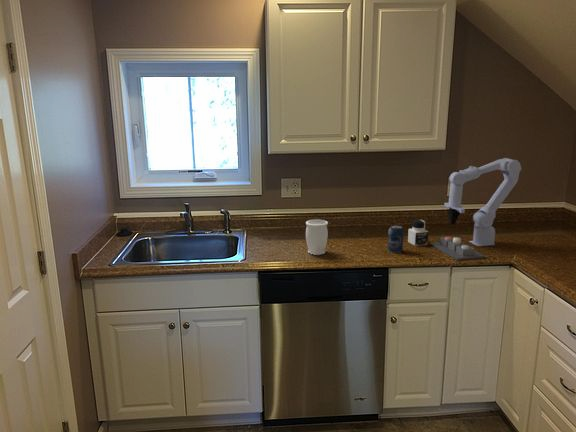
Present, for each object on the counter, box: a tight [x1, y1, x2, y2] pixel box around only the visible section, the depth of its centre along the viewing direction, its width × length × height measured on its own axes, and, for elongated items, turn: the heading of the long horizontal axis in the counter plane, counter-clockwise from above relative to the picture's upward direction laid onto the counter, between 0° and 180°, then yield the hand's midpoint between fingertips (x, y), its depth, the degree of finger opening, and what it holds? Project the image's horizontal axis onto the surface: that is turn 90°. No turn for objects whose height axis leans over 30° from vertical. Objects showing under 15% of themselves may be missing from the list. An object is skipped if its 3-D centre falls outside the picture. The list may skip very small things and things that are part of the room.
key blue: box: [461, 244, 471, 249], centre depth 206 cm, size 4×4×3 cm
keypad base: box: [429, 236, 486, 261], centre depth 213 cm, size 14×24×4 cm, turn 12°
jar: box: [305, 219, 329, 256], centre depth 212 cm, size 11×10×15 cm
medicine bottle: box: [407, 219, 429, 247], centre depth 224 cm, size 7×7×12 cm
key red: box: [444, 236, 453, 240], centre depth 220 cm, size 4×4×3 cm
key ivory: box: [452, 237, 462, 245], centre depth 213 cm, size 4×4×3 cm
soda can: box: [387, 224, 404, 254], centre depth 213 cm, size 7×7×12 cm
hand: (452, 224), depth 221 cm, fingers closed
